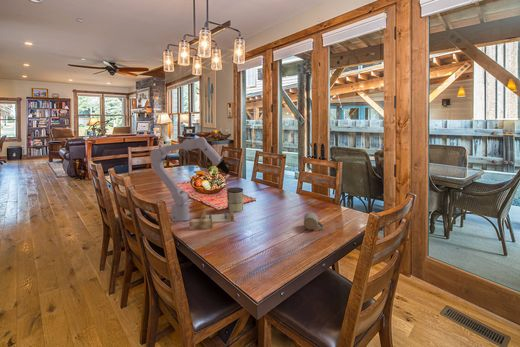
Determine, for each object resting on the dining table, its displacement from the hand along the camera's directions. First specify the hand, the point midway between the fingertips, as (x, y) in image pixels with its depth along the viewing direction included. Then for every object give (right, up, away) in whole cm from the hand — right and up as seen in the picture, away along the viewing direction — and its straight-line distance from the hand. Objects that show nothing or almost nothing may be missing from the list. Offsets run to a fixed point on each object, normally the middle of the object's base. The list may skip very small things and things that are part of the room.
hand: (228, 172), depth 167 cm
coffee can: (+2, -25, +21) cm, 33 cm away
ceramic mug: (+47, -31, -10) cm, 57 cm away
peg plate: (-7, -28, +5) cm, 29 cm away
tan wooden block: (-14, -31, -9) cm, 35 cm away
